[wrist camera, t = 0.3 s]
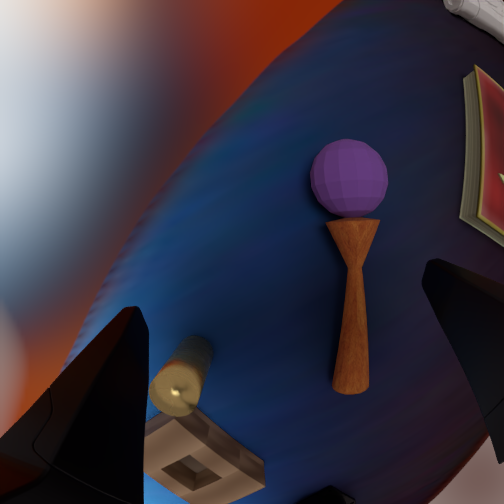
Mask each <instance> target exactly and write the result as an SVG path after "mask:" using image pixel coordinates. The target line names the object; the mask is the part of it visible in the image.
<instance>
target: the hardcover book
mask: <svg viewBox="0 0 504 504" xmlns="http://www.w3.org/2000/svg"><path fill="white" fill-rule="evenodd" d="M473 68H474V71H473V72H471V73H470V74H469V75H468V76H466V77H465V78H464V79H463V83H464V94H465V110H466V155H465V172H464V184H463V194H462V202H461V210H460V216H459V218H460V219H462V220H464V221H465V222H467V223H469V224H470V225H472V226H473V227H475V228H476V229H478V230H479V231H481V232H483V233H484V234H486V235H487V236H489V237H490V238H491V239H493V240H494V241H496V242H497V243H499V244H500V245H502V246H503V247H504V89H503V88H502V87H501V86H500V85H498V84H497V83H496V82H495V81H494V80H493V79H492V78H491V77H489V76H488V75H487V74H486V73H485V72H484V71H482V70H481V69H480V68H479V67H478V66H476V65H475V64H474V65H473Z"/></svg>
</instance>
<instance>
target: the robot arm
mask: <svg viewBox="0 0 504 504" xmlns="http://www.w3.org/2000/svg"><path fill="white" fill-rule="evenodd" d="M422 287H423V290H424V292H425V294H426V296H427V298H428V300H429V302H430V304H431V306H432V308H433V310H434V313H435V315H436V317H437V319H438V321H439V323H440V325H441V327H442V329H443V331H444V333H445V335H446V336H447V338H448V340H449V342H450V344H451V346H452V348H453V350H454V352H455V354H456V356H457V358H458V360H459V362H460V364H461V366H462V368H463V370H464V372H465V374H466V377H467V379H468V381H469V383H470V385H471V388H472V390H473V392H474V395H475V397H476V400H477V402H478V404H479V407H480V409H481V412H482V415H483V417H484V421H485V423H486V426H487V429H488V432H489V435H490V438H491V441H492V444H493V447H494V450H495V454H496V457H497V461H498V463H499V464H501V463H503V462H504V285H503V284H500V283H498V282H496V281H493V280H491V279H489V278H486V277H484V276H482V275H479V274H477V273H474V272H472V271H469V270H467V269H464V268H462V267H459V266H457V265H454V264H452V263H449V262H447V261H444V260H441V259H438V258H436V259H432V260H429V261H428V262H427V264H426V267H425V271H424V274H423V278H422ZM148 384H149V330H148V327H147V324H146V322H145V319H144V317H143V315H142V312H141V310H140V308H139V307H137V306H130V307H125V308H123V309H122V310H121V311H120V312H119V313H118V314H117V315H116V316H115V317H114V318H113V319H112V320H111V321H110V322H109V323H108V324H107V325H106V326H105V327H104V328H103V329H102V330H101V331H100V332H99V334H98V335H97V336H96V337H95V338H94V339H93V340H92V341H91V342H90V343H89V344H88V345H87V346H86V347H85V348H84V349H83V350H82V351H81V352H80V353H79V354H78V356H77V357H76V358H75V359H74V360H73V361H72V362H71V363H70V364H69V365H68V366H67V367H66V368H65V370H64V371H63V372H62V373H61V374H60V375H59V376H58V377H57V378H56V379H55V381H54V382H53V383H52V384H51V385H50V388H47V390H46V391H45V392H44V393H43V394H42V395H41V396H40V398H39V399H38V400H37V401H36V402H35V403H34V404H33V405H32V406H31V407H30V409H29V410H28V411H27V412H26V413H25V414H24V415H23V416H22V417H21V418H20V419H19V420H18V421H17V422H16V423H15V424H14V425H13V426H12V427H11V428H10V429H9V430H8V431H7V432H6V433H5V434H4V435H3V436H2V437H1V438H0V504H144V440H145V422H146V408H147V396H148ZM355 503H356V501H355V499H353V498H351V497H350V496H348V495H346V494H344V493H343V492H341V491H339V490H337V489H336V488H334V487H332V486H330V487H327V488H325V489H323V490H322V491H320V492H318V493H316V494H314V495H313V496H311V497H309V498H307V499H305V500H303V501H301V502H299V503H297V504H355Z"/></svg>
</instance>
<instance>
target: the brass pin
mask: <svg viewBox="0 0 504 504" xmlns="http://www.w3.org/2000/svg"><path fill="white" fill-rule="evenodd" d="M212 358H213V348H212V346H211V344H210V343H209V342H208V341H207V340H206V339H205V338H203V337H200V336H188V337H186V338H185V339H183V340H182V342H181V343H180V344H179V346H178V347H177V348H176V350H175V351H174V352H173V354H172V355H171V356H170V358H169V359H168V361H167V362H166V363H165V365H164V366H163V367H162V369H161V370H160V371H159V373H158V374H157V375H156V377H155V378H154V380H153V381H152V382H151V384H150V387H149V395H150V398H151V401H152V402H153V404H154V405H155V406H156V407H157V408H158V409H159V410H160V411H162V412H163V413H165V414H168V415H171V416H176V417H181V416H186V415H188V414H190V413H192V412H193V411H194V410H195V408H196V406H197V403H198V400H199V397H200V394H201V391H202V388H203V385H204V382H205V379H206V376H207V373H208V370H209V367H210V364H211V361H212Z"/></svg>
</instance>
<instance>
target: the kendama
mask: <svg viewBox="0 0 504 504" xmlns="http://www.w3.org/2000/svg"><path fill="white" fill-rule="evenodd" d="M310 178H311V188H312V190H313V192H314V194H315V196H316V198H317V200H318V202H319V203H320V204H321V205H323V206H324V207H325V208H326V209H327V210H328V211H329V212H330V213H333V214H336V215H338V216H341V217H344V218H343V219H339V220H334V221H330V222H326V225H327V227H328V229H329V230H330V232H331V234H332V236H333V238H334V240H335V242H336V244H337V246H338V248H339V250H340V252H341V255H342V257H343V259H344V261H345V263H346V265H347V267H348V273H347V284H346V294H345V303H344V311H343V319H342V327H341V334H340V341H339V347H338V353H337V359H336V365H335V371H334V376H333V382H332V387H333V389H334V390H335V391H337V392H339V393H342V394H358V393H361V392H363V391H365V390H366V389H367V388H368V387H369V359H368V334H367V318H366V305H365V294H364V284H363V275H362V266H363V263H364V261H365V258H366V256H367V253H368V251H369V248H370V246H371V243H372V240H373V238H374V235H375V233H376V230H377V227H378V224H379V222H380V220H376V219H369V218H362V216H364V215H366V214H368V213H370V212H372V211H374V210H375V208H376V207H377V206H378V205H379V204H380V202H381V201H382V200H383V199H384V196H385V193H386V189H387V186H388V177H387V169H386V166H385V164H384V162H383V161H382V159H381V157H380V155H379V154H378V153H377V152H376V151H375V150H373V149H372V148H371V147H369V146H368V145H367V144H365V143H364V142H360V141H356V140H351V139H342V140H338V141H335V142H333V143H330V144H328V145H326V146H325V147H324V148H323V149H322V150H321V151H320V153H319V154H318V155H317V156H316V157H315V158H314V161H313V165H312V168H311V171H310Z"/></svg>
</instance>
